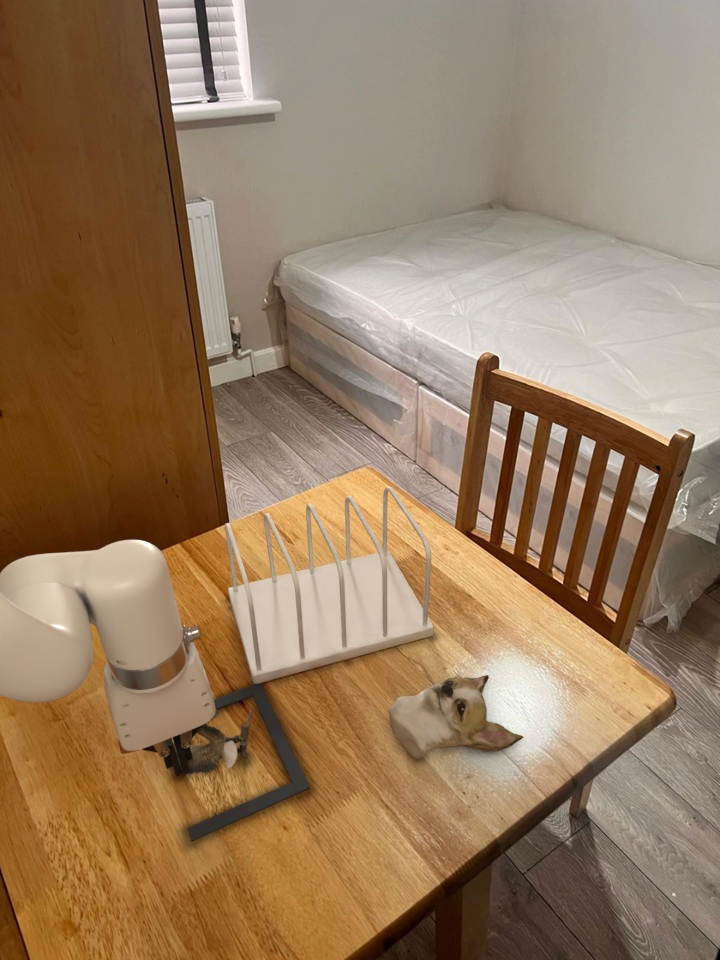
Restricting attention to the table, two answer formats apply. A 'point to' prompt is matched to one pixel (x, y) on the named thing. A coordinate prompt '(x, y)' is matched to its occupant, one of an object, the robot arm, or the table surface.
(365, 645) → the file sorter
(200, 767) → the eagle figurine
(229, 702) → the frame
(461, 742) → the ceramic sculpture
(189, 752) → the robot arm
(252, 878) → the table surface
